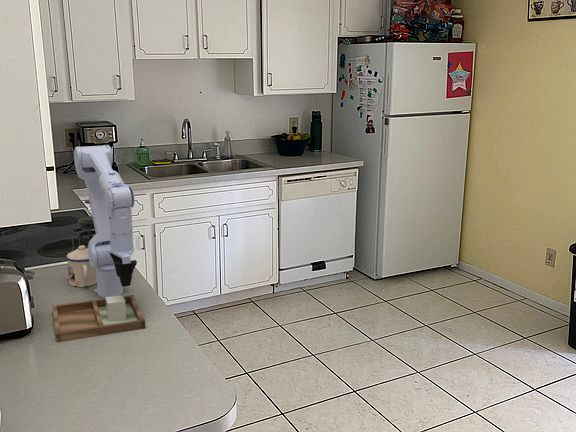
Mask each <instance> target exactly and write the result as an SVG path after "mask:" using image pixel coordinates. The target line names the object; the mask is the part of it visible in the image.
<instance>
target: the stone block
mask: <svg viewBox="0 0 576 432" xmlns="http://www.w3.org/2000/svg"><path fill="white" fill-rule="evenodd" d="M123 296H124V295H123V294H121V295H118V296H111V297H105V299H106V314H107V318H108V321H115V320H122V319H126V306H125V299H124V297H123Z"/></svg>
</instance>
